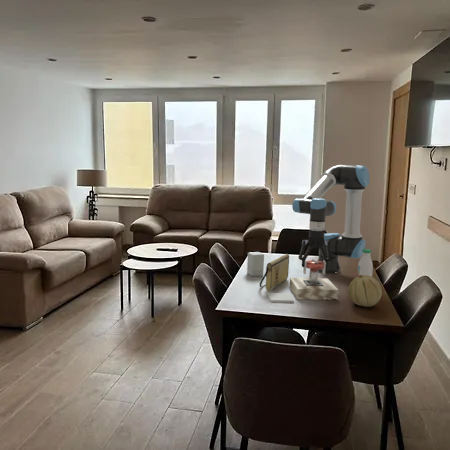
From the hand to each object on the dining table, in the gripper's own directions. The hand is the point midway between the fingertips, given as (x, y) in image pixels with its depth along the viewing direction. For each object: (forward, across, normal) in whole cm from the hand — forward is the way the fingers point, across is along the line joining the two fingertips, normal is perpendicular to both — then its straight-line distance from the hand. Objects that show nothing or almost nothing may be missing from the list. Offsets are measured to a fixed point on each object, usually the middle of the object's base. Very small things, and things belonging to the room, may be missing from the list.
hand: (314, 273), depth 218 cm
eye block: (+10, 0, 0) cm, 10 cm away
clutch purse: (+10, -18, +13) cm, 25 cm away
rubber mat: (+10, -18, -10) cm, 23 cm away
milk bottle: (+11, +32, +16) cm, 37 cm away
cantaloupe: (+10, +20, -18) cm, 29 cm away
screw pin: (+9, 0, 0) cm, 9 cm away
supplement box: (+10, -26, +33) cm, 43 cm away
